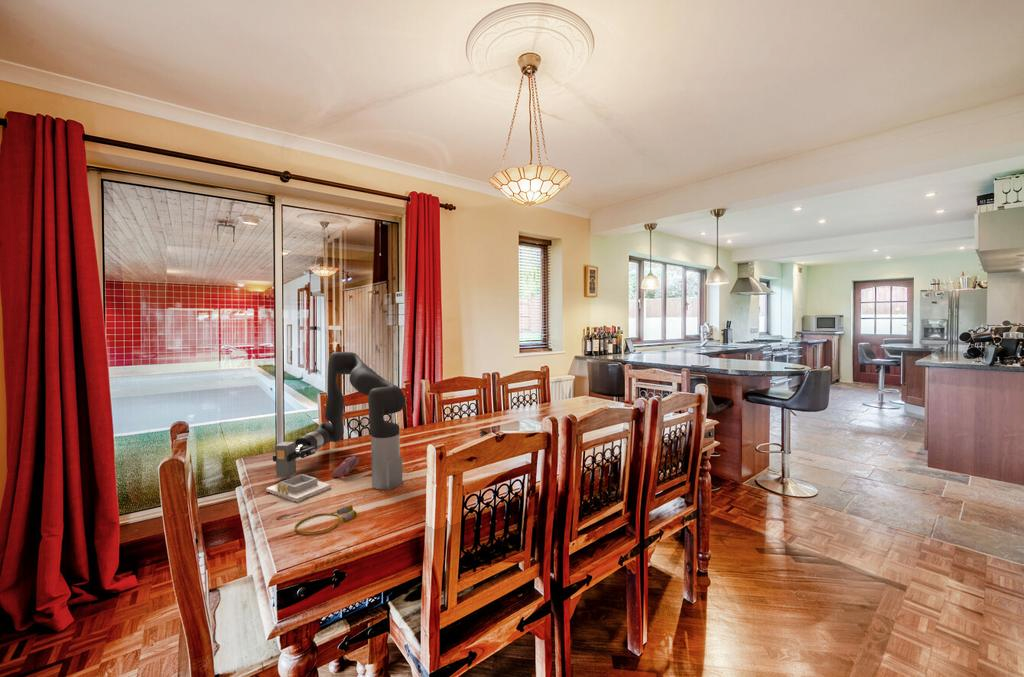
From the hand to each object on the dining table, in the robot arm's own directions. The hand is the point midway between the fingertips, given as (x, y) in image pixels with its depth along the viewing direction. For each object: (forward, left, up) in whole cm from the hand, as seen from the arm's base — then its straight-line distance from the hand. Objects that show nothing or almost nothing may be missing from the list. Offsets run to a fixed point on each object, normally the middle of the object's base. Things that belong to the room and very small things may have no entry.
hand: (281, 458), depth 141 cm
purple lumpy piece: (-13, -16, -8) cm, 22 cm away
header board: (-12, +1, -8) cm, 14 cm away
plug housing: (+1, -2, -7) cm, 7 cm away
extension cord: (-38, +11, -9) cm, 41 cm away
